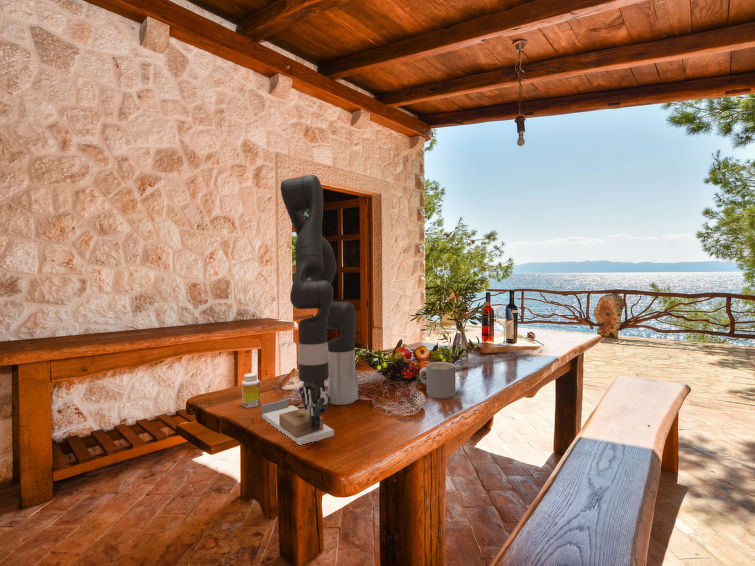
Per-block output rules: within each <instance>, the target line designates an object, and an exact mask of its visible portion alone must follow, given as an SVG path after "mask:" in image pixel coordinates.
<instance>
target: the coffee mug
mask: <svg viewBox="0 0 755 566" xmlns="http://www.w3.org/2000/svg"><path fill="white" fill-rule="evenodd" d="M418 373H419V375H418V377H419V381H420V382H421V383H422V384H423V385H424V386H426V395H427V396H429V397H430V398H431V397H432V398H433V399H450V398H454V397H455V396H456V385H457V384H456V365H455V364H454V363H451V362H446V361H434V362H429V363H426V365H425V367H422V368H421V369H420V371H419V372H418ZM424 373H426V375H424ZM425 376H426V377H425ZM425 378H426V379H425Z"/></svg>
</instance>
